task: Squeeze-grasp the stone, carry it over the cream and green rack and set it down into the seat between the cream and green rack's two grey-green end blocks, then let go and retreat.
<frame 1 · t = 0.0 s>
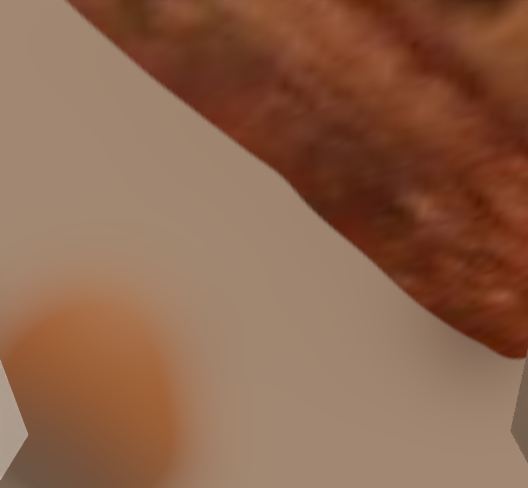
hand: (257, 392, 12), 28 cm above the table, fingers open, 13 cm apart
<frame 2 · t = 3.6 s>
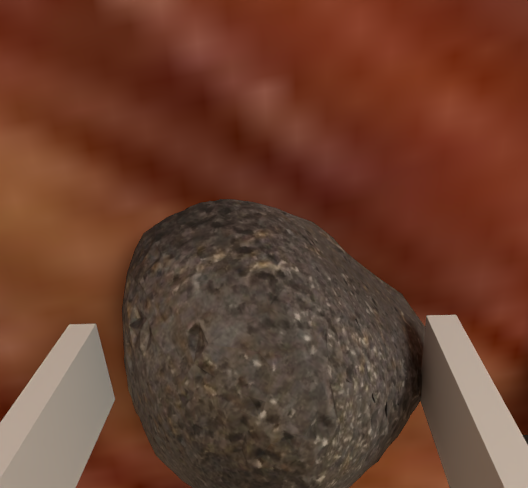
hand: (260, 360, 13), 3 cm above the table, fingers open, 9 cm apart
stone: (257, 310, 17), on the table, touching gripper
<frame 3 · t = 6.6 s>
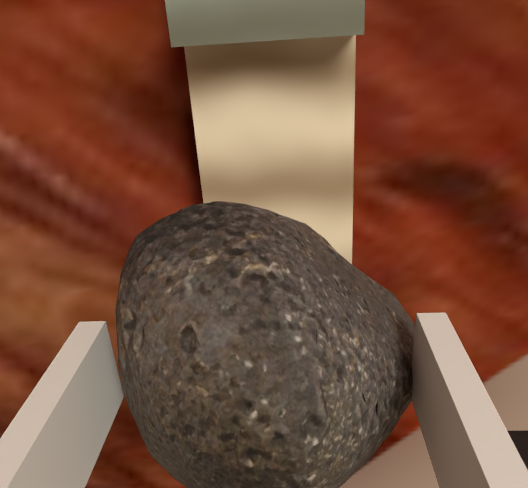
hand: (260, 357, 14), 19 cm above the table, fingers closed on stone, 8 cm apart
cream and green rack: (277, 164, 31), on the table
stone: (251, 310, 17), point 16 cm above the table, touching gripper
when the fingers open (7 cm above the table, at t = 9.6 s): stone drops 1 cm, resting on cream and green rack.
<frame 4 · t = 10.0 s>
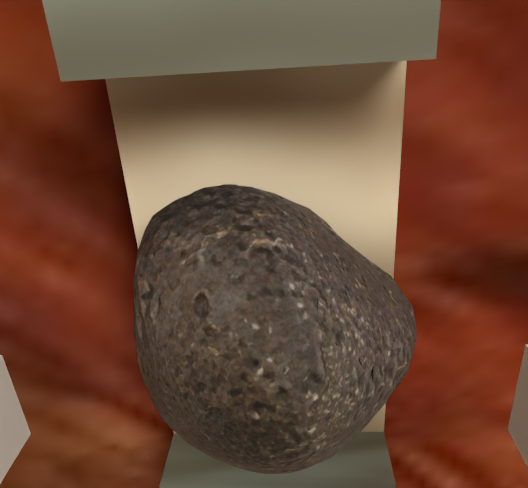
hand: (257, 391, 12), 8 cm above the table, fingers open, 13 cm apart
cream and green rack: (269, 249, 20), on the table
stone: (257, 291, 18), point 2 cm above the table, touching cream and green rack
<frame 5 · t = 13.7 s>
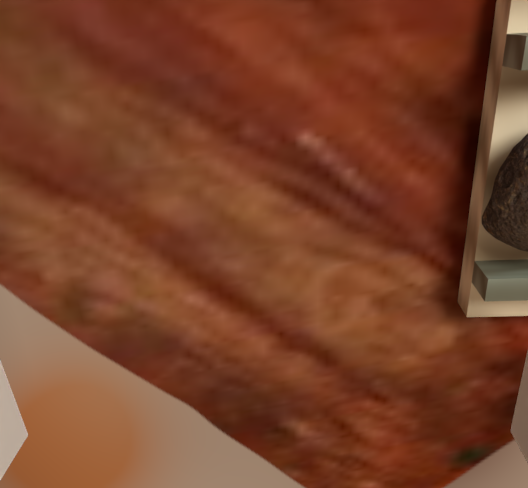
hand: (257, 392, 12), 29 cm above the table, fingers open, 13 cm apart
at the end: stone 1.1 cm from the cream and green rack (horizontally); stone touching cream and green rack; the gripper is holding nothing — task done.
